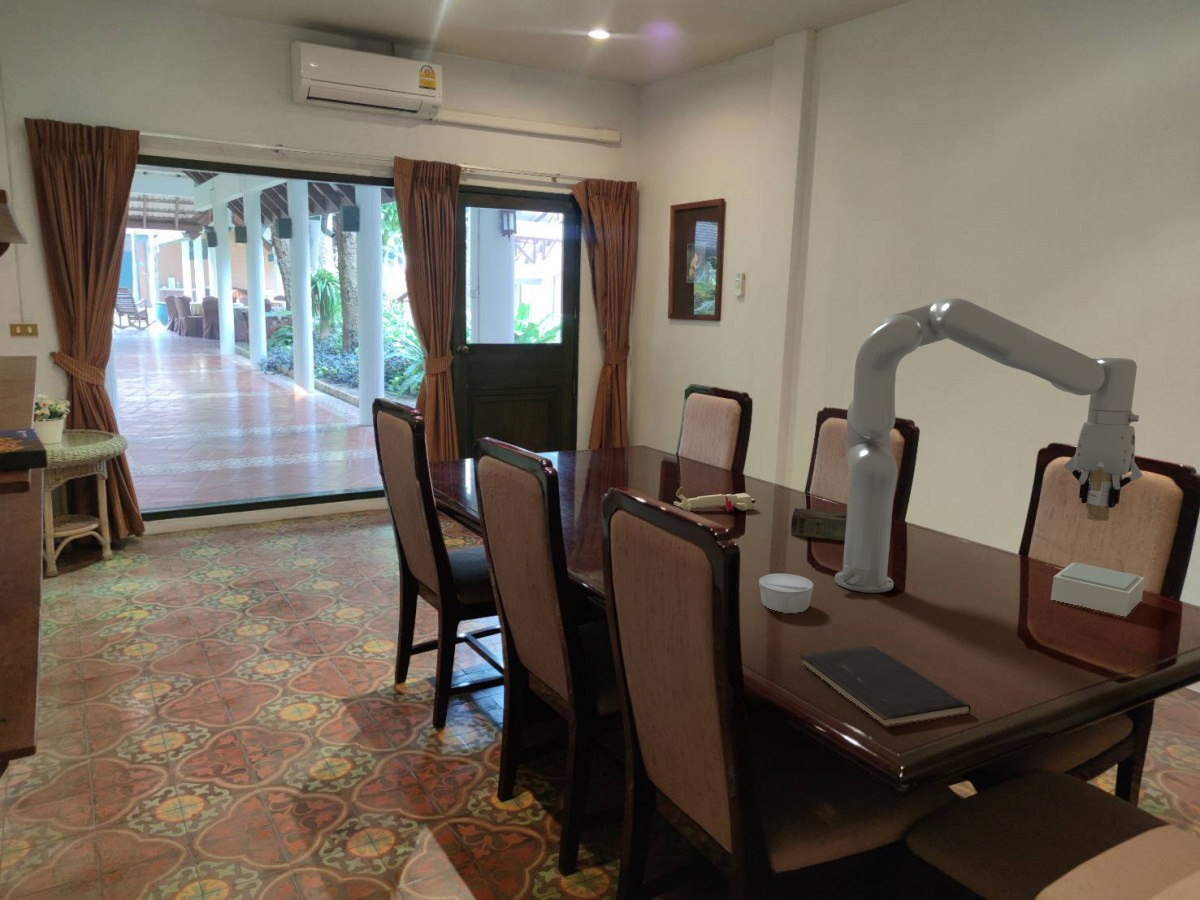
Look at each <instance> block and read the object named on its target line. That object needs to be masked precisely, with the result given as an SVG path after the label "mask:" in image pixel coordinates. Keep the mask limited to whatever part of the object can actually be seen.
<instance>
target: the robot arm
mask: <svg viewBox="0 0 1200 900" xmlns="http://www.w3.org/2000/svg"><path fill="white" fill-rule="evenodd" d="M948 339H949V340H950V341H953V342H955V343H956V344H958V345H961V346H963V347H965V348H967V349H969V350H972V351H974V352H976V353H978V354H980V355H982V356H985V357H986V358H988V359H991V360H992V361H995V362H996V363H999V364H1001V365H1004V366H1007V367H1008V368H1009V367H1010V368H1013V369H1017V370H1019V371H1023V372H1026V373H1028V374H1031V375H1033V376H1036V377H1038V378H1040V379H1043V380H1045V381H1047V382H1049V383H1050V384H1051V385H1052V386H1053V387H1054V388H1055V389H1057V390H1060V391H1062V392H1066V393H1069V394H1073V395H1075V396H1076V395H1077V396H1090V397H1089V405H1088V412H1087V419H1086V420H1087V422H1086V421H1085V422H1083V424H1082V427H1081V430H1080V432H1079V436H1078V440H1077V445H1076V450H1075V454H1074V455H1073V456H1072V457H1071V458H1070V459H1069V460H1068V461H1067V462H1066V463H1065V464H1064V465H1063V466H1064V469H1066V471H1068V472H1069V473H1071V474H1072V476H1074V478H1075V479H1076V480H1077V481H1078V484H1079V486H1080V487H1079V493H1078V494H1079V495H1078V498H1079V499H1080V500H1081V501H1080V503H1081V504H1086V503H1087V502H1086V500H1087V493H1088V486H1089V481H1090V473H1091V471H1092V472H1093V471H1096V470H1098V469H1097V468H1102V469H1101V470H1103V472H1105V473H1108V474H1112V480H1113V486H1112V489H1110V494H1109V502H1108V507H1109V509H1113V508H1114V507H1116V505H1118V504H1119V503H1120V497H1121V491H1122V488H1123V487H1124V486H1126V485H1128V484H1129V483H1131V482H1132V483H1133V482H1134V481H1136V480H1139V479H1141V478H1142V477H1143V475H1144V474H1143V473H1142V471H1141V470H1140V468H1139V465H1137V464H1136V462H1135V453H1136V433H1135V426H1133V425H1131V423H1135V422H1136V423H1138V422H1139V420H1140V415H1138V414H1134V413H1133V411H1132V409H1133V402H1134V401H1133V400H1134V395H1135V394H1134V392H1135V386H1136V377H1137V370H1138V369H1137V368H1138V366H1137V363H1136V361H1135V360H1133V359H1132V358H1131V359H1130V358H1122V357H1101V358H1092V357H1090V356H1088V355H1086V354H1083V353H1081V352H1079V351H1077V350H1075V349H1073V348H1071V347H1068V346H1066V345H1064V344H1063V343H1060V342H1057V341H1054V340H1053V339H1051V338H1048V337H1046V336H1044V335H1042V334H1039V333H1038V332H1036V331H1034V330H1032V329H1029V328H1028V327H1025V326H1023V325H1020V324H1018V323H1016V322H1014V321H1012V320H1010V319H1007V318H1005V317H1003V316H1000V315H998V314H997V313H995V312H992V311H990V310H989V309H986V308H984V307H982V306H979V305H978V304H975V303H973V302H971V301H968V300H967V299H963V298H946V299H942V300H939V301H936V302H933V303H930V304H928V305H927V304H926V305H924V306H920V307H917V308H913V309H909V310H905V311H903V312H899V313H895V314H892V315H889V316H887V317H885V318H884V319H883V320H882V321H880V323H879V324H878V325H877V328H876V329H874V330H873V331H872V332H871V333H870V334H869V335H868V336H867V337H866V339H865V340H864V342H863V343H862V344H861V347H860V349H859V350H858V353H857V355H856V359H855V364H854V376H853V377H854V378H853V379H854V380H853V399H852V401H851V402H850V404H849V405H848V408H847V414H846V415H847V416H846V461H847V465H848V469H849V473H850V474H849V476H850V477H849V489H848V496H847V507H846V513H847V519H846V532H845V541H844V546H843V559H842V560H843V561H842V571H838V572H837V573H835V576H834V582H835V583H836V584H837V585H838V586H840V587H842V588H845V589H847V590H850V591H855V592H856V591H857V592H862V593H868V594H869V593H871V594H872V593H873V594H875V593H876V594H877V593H885V592H889V591H891V590H892V589H893V588H894V584H895V583H894V581H893V580H892V578H890V577H889V576H888V566H889V557H890V556H889V554H890V542H891V533H892V532H891V531H892V530H891V529H892V517H893V508H894V500H895V499H894V498H895V492H896V487H897V481H898V465H897V461H896V459H895V457H894V455H893V453H892V452H891V449H890V447H891V432H892V431H893V429H894V427H895V424H896V417H897V416H896V376H897V369H898V366H899V363H901V361H902V360H903V358H905V357H906V356H907V355H909V354H911V353H913V352H915V351H916V350H917V349H918V348H919V347H923V346H927V345H931V344H934V343H936V342H940V341H943V340H948ZM1099 462H1102V463H1103V465H1104V467H1098V466H1096V465H1097V464H1098V463H1099ZM1128 473H1131V474H1130V475H1127V476H1126V477H1124V475H1126V474H1128Z"/></svg>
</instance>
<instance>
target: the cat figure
mask: <svg viewBox="0 0 1200 900" xmlns="http://www.w3.org/2000/svg"><path fill="white" fill-rule="evenodd" d="M684 492H685V487H684V486H679V488H678V489H677V490H676V492H675V496H676V497H678V499H681V500H682V501H681V502H679V501H673V505H676V506H679V507H681V508H683V509H686V510H689V511H688V512H691V511H690V509H691V508H692V507H693V508H696V507H702V508H707V507H716V506H718V505H719V506H720V507H725V508H726V509H725V512H726V511H727V513H729V511H730V510H733V507H735V508H736V509H737V510H739V511H741V512H743V511H747V510H751V509H754V508H755V507H756V506H757V505H758V504H757V503H756V500H755V498H752V496H750V495H749V494H747V493H746V492H741V493H735V494H731V493H728V494H722V493H721V490H719V491H718V492H717V494H711V495H702V496H697V497H692V498H686V497H685V496H684V495H683V494H684ZM719 506H718V507H719ZM687 508H688V509H687Z"/></svg>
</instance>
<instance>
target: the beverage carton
mask: <svg viewBox="0 0 1200 900" xmlns="http://www.w3.org/2000/svg"><path fill="white" fill-rule="evenodd" d="M846 519H847V512H845V513H844V512H837V511H828V510H818V509H817V510H816V509H809V508H798V507H795V508H794V510H793V514H792V516H791V523H790V535H791V536H796V537H806V538H816V539H823V540H824V539H825V540H834V541H843V542H845V532H846Z"/></svg>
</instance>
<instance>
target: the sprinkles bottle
mask: <svg viewBox="0 0 1200 900" xmlns="http://www.w3.org/2000/svg"><path fill="white" fill-rule="evenodd" d="M1096 466H1098V467H1104V465H1103V463H1102V462H1099V463H1098V464H1097V465H1096ZM1097 469H1098V470H1096V471H1093V472H1092V471H1091V473H1090V478H1089V486H1088V493H1087V500H1086V503H1085V504H1086V505H1085V511H1084V515H1083V516H1084V518H1085V519H1087V520H1090V521H1096V522H1107V521H1109V518H1110V517H1109V513H1110V508H1109V507H1108V502H1109V494H1110V489H1112V486H1113V480H1112V474H1108V473H1105V472H1103V470H1101V469H1102V468H1097Z"/></svg>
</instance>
